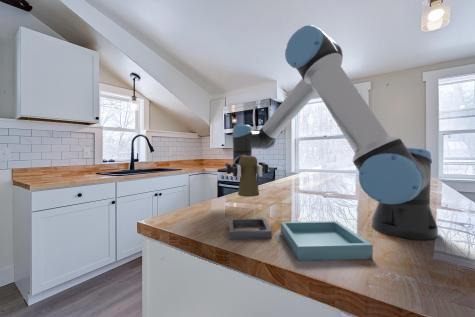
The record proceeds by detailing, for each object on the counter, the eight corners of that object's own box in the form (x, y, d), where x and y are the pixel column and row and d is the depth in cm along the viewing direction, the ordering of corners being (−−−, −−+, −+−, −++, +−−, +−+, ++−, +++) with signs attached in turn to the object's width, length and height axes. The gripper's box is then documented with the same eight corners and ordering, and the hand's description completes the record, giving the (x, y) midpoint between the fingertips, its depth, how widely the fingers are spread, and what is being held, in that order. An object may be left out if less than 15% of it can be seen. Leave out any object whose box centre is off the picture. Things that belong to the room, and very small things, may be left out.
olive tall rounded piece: (258, 197, 60) (257, 156, 60) (236, 196, 61) (235, 156, 61) (260, 192, 66) (260, 155, 66) (240, 192, 67) (239, 155, 67)
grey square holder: (264, 224, 70) (264, 218, 70) (271, 238, 59) (271, 231, 59) (229, 225, 69) (229, 219, 69) (229, 239, 58) (229, 232, 58)
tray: (336, 231, 64) (336, 220, 64) (372, 258, 48) (372, 244, 48) (280, 232, 63) (280, 222, 63) (298, 260, 47) (298, 246, 47)
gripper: (268, 175, 82) (284, 185, 59) (219, 176, 81) (215, 186, 58) (268, 155, 82) (284, 156, 58) (219, 155, 81) (215, 157, 58)
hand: (250, 171), depth 58 cm, fingers closed on olive tall rounded piece, 5 cm apart
